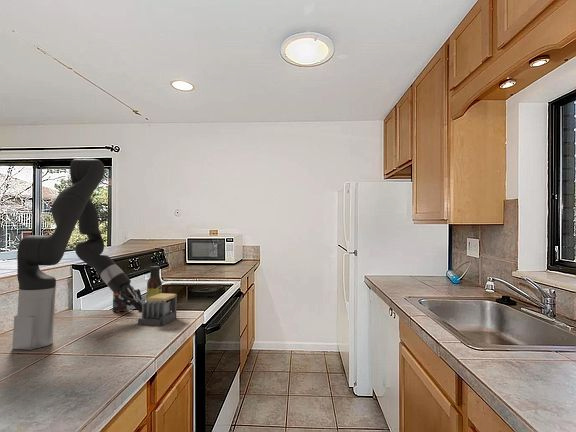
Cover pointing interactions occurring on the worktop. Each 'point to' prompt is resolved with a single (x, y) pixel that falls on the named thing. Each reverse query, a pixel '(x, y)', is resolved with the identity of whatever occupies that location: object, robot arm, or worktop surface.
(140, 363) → the worktop surface
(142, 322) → the grey and yellow stand
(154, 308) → the heatsink block
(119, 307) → the supplement bottle
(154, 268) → the sauce bottle
